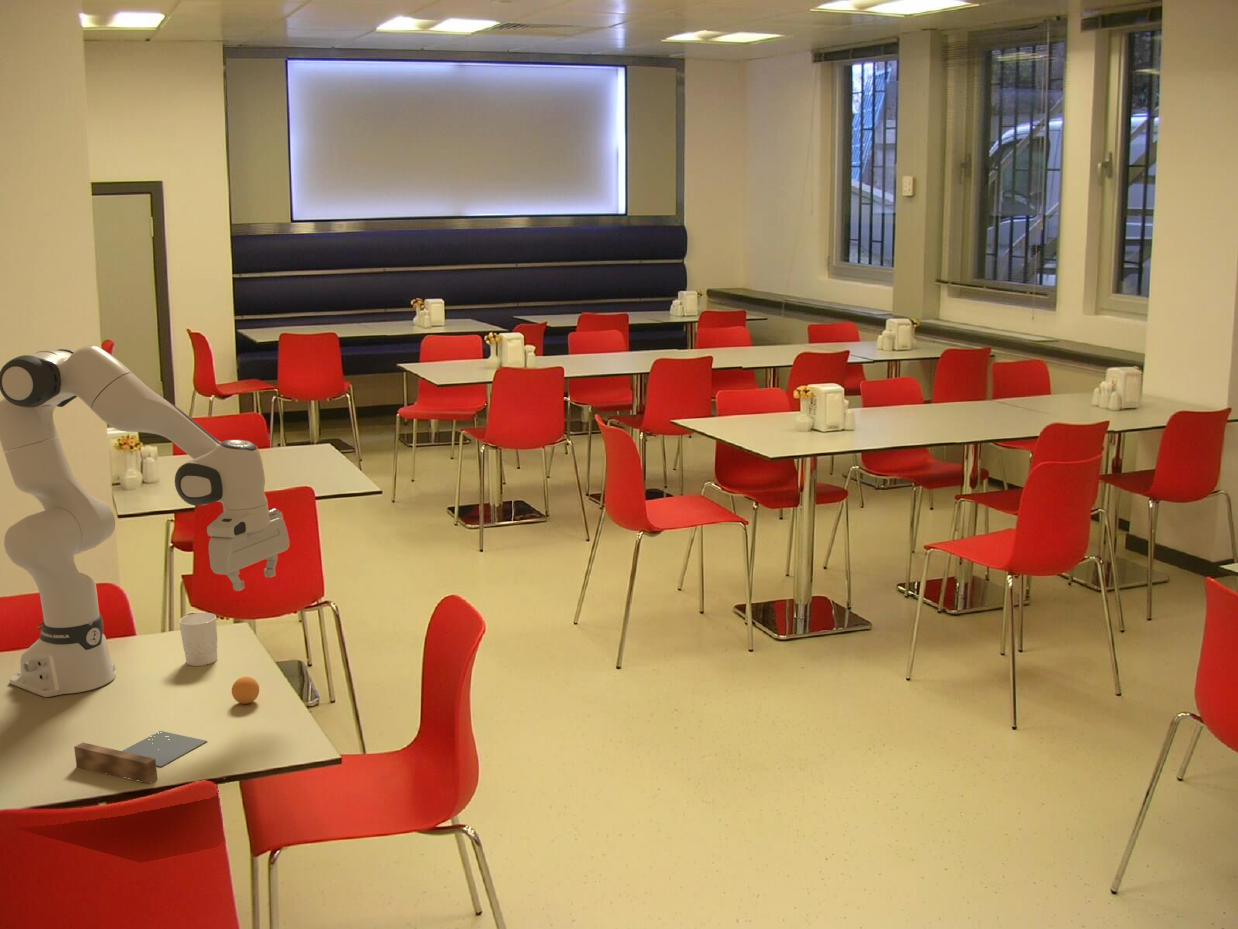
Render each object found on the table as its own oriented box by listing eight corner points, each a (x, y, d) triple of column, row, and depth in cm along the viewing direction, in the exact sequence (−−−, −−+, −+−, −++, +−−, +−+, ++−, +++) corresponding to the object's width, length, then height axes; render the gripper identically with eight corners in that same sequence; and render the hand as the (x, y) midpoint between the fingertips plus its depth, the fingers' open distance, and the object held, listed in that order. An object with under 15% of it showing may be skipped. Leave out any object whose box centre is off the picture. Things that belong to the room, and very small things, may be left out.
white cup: (209, 668, 293) (205, 625, 291) (176, 666, 295) (172, 623, 292) (226, 655, 301) (222, 613, 298) (194, 653, 302) (190, 612, 300)
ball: (227, 705, 272) (224, 680, 271) (245, 695, 277) (243, 671, 276) (248, 709, 270) (245, 684, 268) (266, 699, 275) (263, 674, 273)
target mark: (113, 756, 250) (113, 755, 250) (160, 731, 260) (160, 730, 260) (161, 767, 244) (161, 766, 244) (207, 741, 255) (207, 740, 255)
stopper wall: (76, 766, 246) (74, 746, 245) (85, 762, 247) (82, 742, 247) (149, 784, 238) (146, 763, 237) (157, 779, 240) (155, 758, 239)
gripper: (269, 505, 282) (276, 567, 285) (200, 530, 265) (209, 596, 268) (292, 507, 280) (299, 570, 283) (224, 532, 262) (232, 599, 265)
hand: (255, 583), depth 275 cm, fingers open, 8 cm apart
